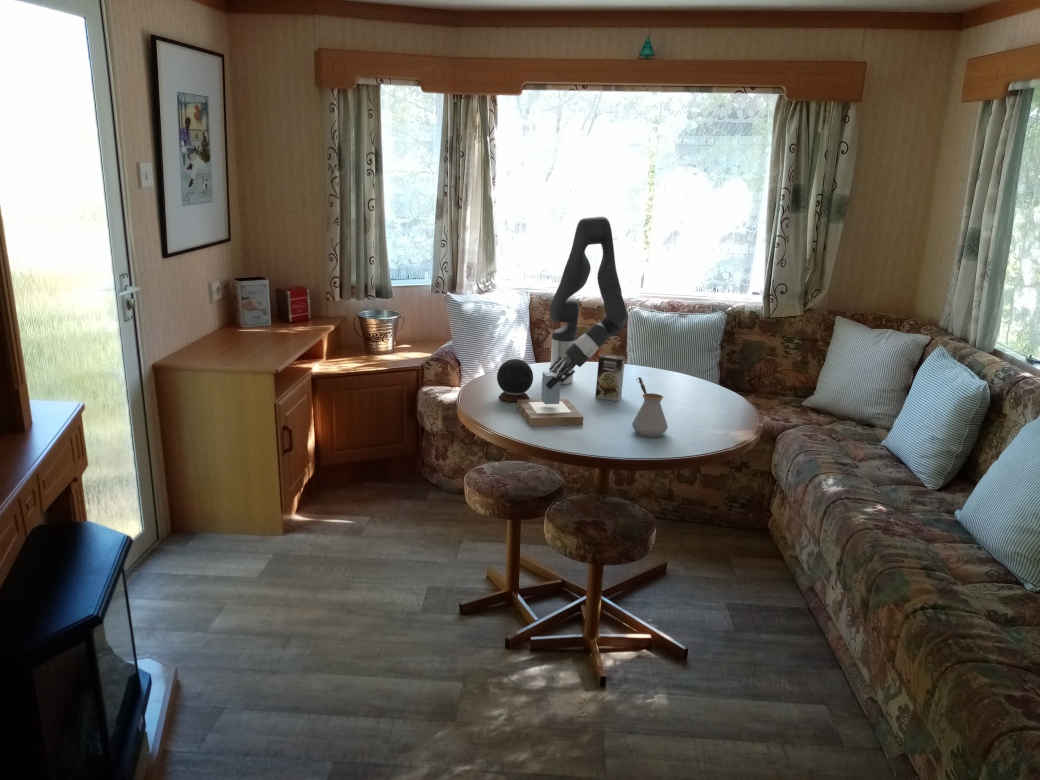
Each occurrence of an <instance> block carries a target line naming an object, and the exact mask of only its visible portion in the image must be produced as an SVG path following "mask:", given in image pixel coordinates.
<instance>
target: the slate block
mask: <svg viewBox="0 0 1040 780" xmlns="http://www.w3.org/2000/svg"><path fill="white" fill-rule="evenodd" d="M556 374H557V372H549V371H542V380H541V398H540V399H541V400H542V401H543V403H544V404H559V399H561V398H560V395H561V384H560V382H561V381H560V382H558V383H557V384H556V385H555V386H553V387H552V388H551V389H549V388H548V387H547V386H546V384H547V383H548V382H549V381H550V380H551V379H552V378H553V377H554V376H555V375H556Z"/></svg>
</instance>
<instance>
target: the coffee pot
mask: <svg viewBox="0 0 1040 780" xmlns="http://www.w3.org/2000/svg"><path fill="white" fill-rule="evenodd" d="M637 380H638V381H637ZM635 381H636V383H639V384H640V388H641V390H642V392H643V395H642V397H643V400H644V401H643V403H642V405H641V406H640V408H639V410H638V412H637V414H636V416H634V419H633V421H632V423H631V424H632V427H633V430H634V431H635V432H636V433H637V435H640V436H641V437H645V438H659V437H660V436H661V435H663V434H665V432H666V431H667V430H668V423H667V420H666V417H665V413H664V411H663V407H662V405H661V402H662V400H663V398H664V396H663V395H661V394H658V393H648V392H647V390H646V386H645V384H644V382H643V378H642V377H640V376H639V377H637V378H635Z"/></svg>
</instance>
